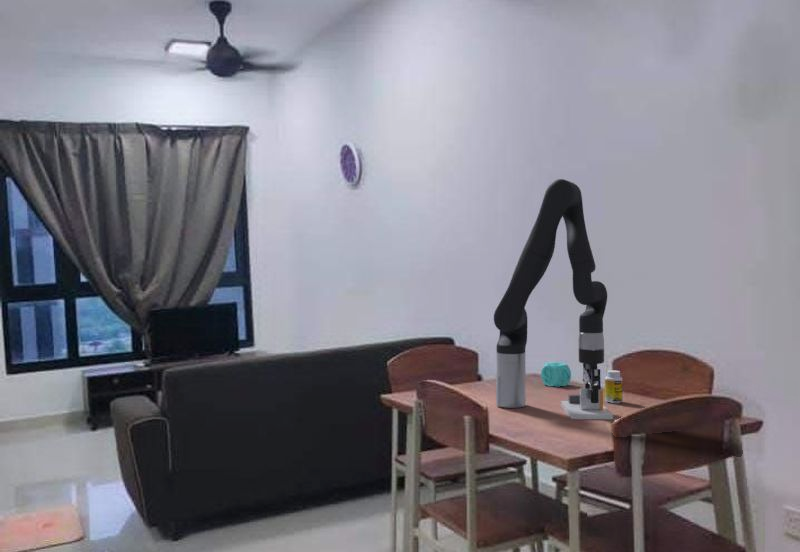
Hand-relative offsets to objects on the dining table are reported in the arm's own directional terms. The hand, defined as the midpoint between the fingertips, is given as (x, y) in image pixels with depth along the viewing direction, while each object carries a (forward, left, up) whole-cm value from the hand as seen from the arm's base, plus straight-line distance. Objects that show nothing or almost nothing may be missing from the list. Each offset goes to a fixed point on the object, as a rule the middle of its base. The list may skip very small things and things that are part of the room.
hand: (591, 400), depth 227 cm
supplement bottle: (+11, +19, -5) cm, 22 cm away
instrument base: (-1, +3, -4) cm, 5 cm away
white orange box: (0, 0, -3) cm, 3 cm away
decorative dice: (-3, +51, -5) cm, 51 cm away
